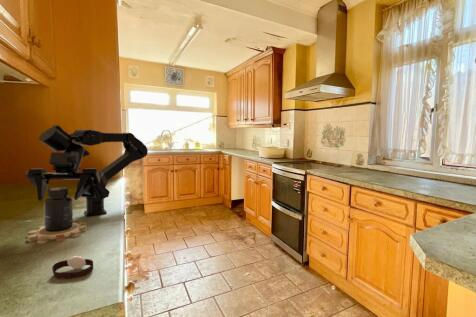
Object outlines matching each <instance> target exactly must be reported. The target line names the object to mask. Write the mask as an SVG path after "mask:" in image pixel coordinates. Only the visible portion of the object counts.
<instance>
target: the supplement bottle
mask: <svg viewBox="0 0 476 317" xmlns="http://www.w3.org/2000/svg"><path fill="white" fill-rule="evenodd" d="M68 195H69V188H68V187H65V186H64V187H63V186H62V187H52V188H49V189H47V197H48V198H46V199H45V200H44V201H43V213H44V214H43V215H44V216H43V217H44V225H45V230H46V231H49V232H57V231H63V230H66V229H69V228H70V227H72V225H73V221H74V220H73V219H74V218H73V216H74V214H73V198H72V197H71V196H70V195H69V196H68Z"/></svg>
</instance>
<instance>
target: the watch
mask: <svg viewBox="0 0 476 317" xmlns="http://www.w3.org/2000/svg"><path fill="white" fill-rule="evenodd" d="M85 266H88V267H87V268H85V269H82V268H84V267H85ZM65 267H70V268H72V269H74V270H75V269H77V271H71V272H69V271H68V272H65V271H64V272H63V271H62V272H58V270H60V269H61V268H65ZM78 269H82V270H78ZM51 270H52V273H53V277H55V278H56V277H57V278H56V279H61V278H64V279H63V280H67V279H69V280H70V279H75V278H76V277H77V278H82V277H85V276H87V275H89V274H91V273H92V272H93V271H94V261H93V260H92V259H88V258H85V257H83V256H80V255H74V256H72V257H70V258H69V259H66V260H65V259H64V260H61V261H58V262H56V263H55V264H52V268H51Z"/></svg>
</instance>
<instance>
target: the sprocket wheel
mask: <svg viewBox="0 0 476 317" xmlns="http://www.w3.org/2000/svg"><path fill="white" fill-rule="evenodd" d="M36 228H37V229H35V230H33V229H32V230H29V231H28V232H27V236H26V237H27V238H26V240H27V242H29V243H31V242H35V241H36V242H37V244H46V243H48V242H49V241H56V243H58V242H64V241H65V240H66V238H70V237H71V238H72V237H73V238H77V237H79V236H81V235H82V234H81V233H82V232H87V231H88V225H87V223H86V222H84V221H80V222H77V220H73V225H72V227H70V228H69V229H66V230H63V231H57V232H49V231H46V230H45V224H44V225H40V226H38V227H36Z"/></svg>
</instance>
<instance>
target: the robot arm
mask: <svg viewBox="0 0 476 317" xmlns="http://www.w3.org/2000/svg"><path fill="white" fill-rule="evenodd" d="M38 141H40V142H41V143H42V144H44V145H45V146H47V147H48V148H49V149H51V150H53V151H54V152H50V155H49V161H48V164H49V165H52V170H53V171H55V172H47V170H46V168H30V169H28V170H27V171H26V174H25V177H26V178H27V179H28V181H29V182H30V183H31V184H32V185H33V186H35V187H36V191H37V192H36V193H37V201H38V202H42V200H43V199H44V197H45V195H46V193H47V192H48V190H49V189H48V188H49V184H50V181H51V180H64V181H70V180H73V181H75V180H78V181H77V182H76V191H75V194H74V196H73V197H74V201H77V200H78V199H79V198H81V197H82V198H85V201H86V203H85V204H86V209H85V210H84V214H85V216H86V217H92V216H98V215H99V216H100V215H105V214H107V211H106V209H105V198H108V197H109V195H110V194H111V193H110V190H108V189H107V185H108V182H109V181H110V180H111V179H112V178H113V177H115V176H116V175H118V174H119V173H120V172H121V171H122V170H125V169H126V167H127V166H129V165H131V163H133V162H136V161H139V160H142V159H143V158H145V157H147V156H148V153H149V152H148V151H149V150H148V146H146V145H145V144H144V142H142V140H140V139H139V138H137V137H136V136H135V135H134V134H133V133H132V132H102V131H99V130H94V129H83V128H81V129H80V128H79V129H76V130H75V129H74V132H73V133H68V132H66V131H65V130H64V129H63V128H62V127H61V126H60V125H58V124H53V126H51V127H50V128H47V129H46V130H45V131H43V132H41V134H40V135H39V138H38ZM104 143H122V146H123V149H124V152H123V154H121V155H120V156H119V157H118V158H116V159H115V160H114V161H112V162H110V163H109V164H108V165H107V166H105V167H104V168H102V169H101V170H100V171H99V170H98V168H96V167H95V168H94V167H93V168H92V167H89V168H88V167H87V168H86V167H85V168H82V165H81V163H82V161H83V158H85V157H88V156H90V152H89V151H88V150H87V148H85V147H83V146H88V147H91V146H97V145H100V144H104ZM81 168H82V171H81V172H79V170H81Z"/></svg>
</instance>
